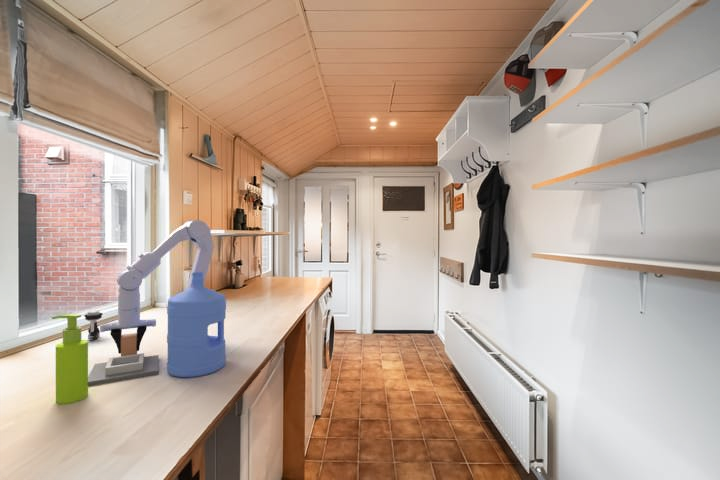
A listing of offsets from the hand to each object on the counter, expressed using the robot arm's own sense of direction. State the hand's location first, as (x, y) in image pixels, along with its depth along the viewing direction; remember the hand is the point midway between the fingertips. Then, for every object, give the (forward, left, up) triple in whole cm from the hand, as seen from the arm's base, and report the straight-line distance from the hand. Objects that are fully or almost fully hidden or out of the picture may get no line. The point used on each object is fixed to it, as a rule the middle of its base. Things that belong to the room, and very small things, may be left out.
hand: (129, 351), depth 108 cm
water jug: (-18, +19, -2) cm, 26 cm away
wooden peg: (0, 0, -2) cm, 2 cm away
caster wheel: (+13, -28, -2) cm, 31 cm away
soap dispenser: (+10, +25, -2) cm, 27 cm away
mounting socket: (0, +12, -2) cm, 12 cm away
